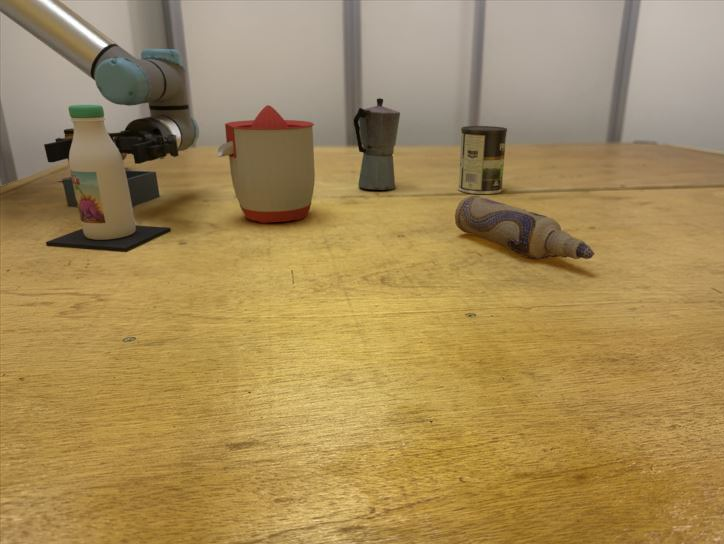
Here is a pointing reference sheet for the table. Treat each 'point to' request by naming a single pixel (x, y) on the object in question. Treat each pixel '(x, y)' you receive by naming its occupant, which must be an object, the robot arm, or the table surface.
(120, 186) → the milk bottle
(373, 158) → the moka pot
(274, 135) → the citrus juicer
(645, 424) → the table surface
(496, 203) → the decorative bottle
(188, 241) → the table surface
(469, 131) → the coffee can
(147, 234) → the mat
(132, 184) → the bin
